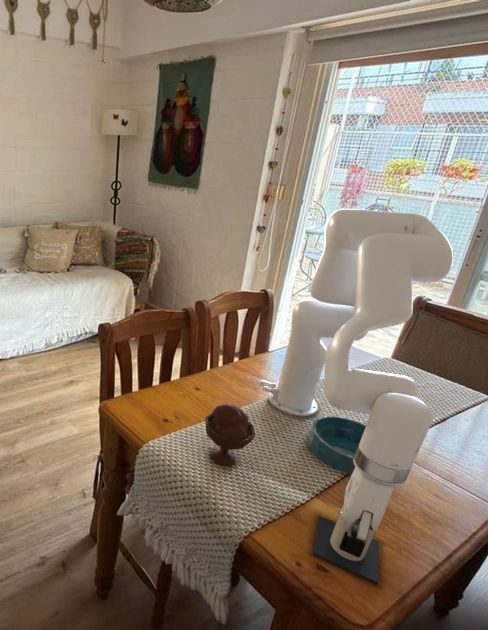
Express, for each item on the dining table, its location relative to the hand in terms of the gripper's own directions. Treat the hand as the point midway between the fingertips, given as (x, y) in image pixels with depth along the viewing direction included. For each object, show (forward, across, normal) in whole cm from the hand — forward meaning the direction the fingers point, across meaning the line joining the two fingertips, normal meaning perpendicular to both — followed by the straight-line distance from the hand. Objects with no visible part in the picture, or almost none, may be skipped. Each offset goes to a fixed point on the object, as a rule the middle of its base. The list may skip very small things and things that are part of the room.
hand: (350, 537), depth 81 cm
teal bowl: (+3, -30, -2) cm, 30 cm away
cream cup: (+2, 0, 0) cm, 2 cm away
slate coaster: (+3, 0, 0) cm, 3 cm away
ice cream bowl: (+3, -11, -26) cm, 28 cm away
